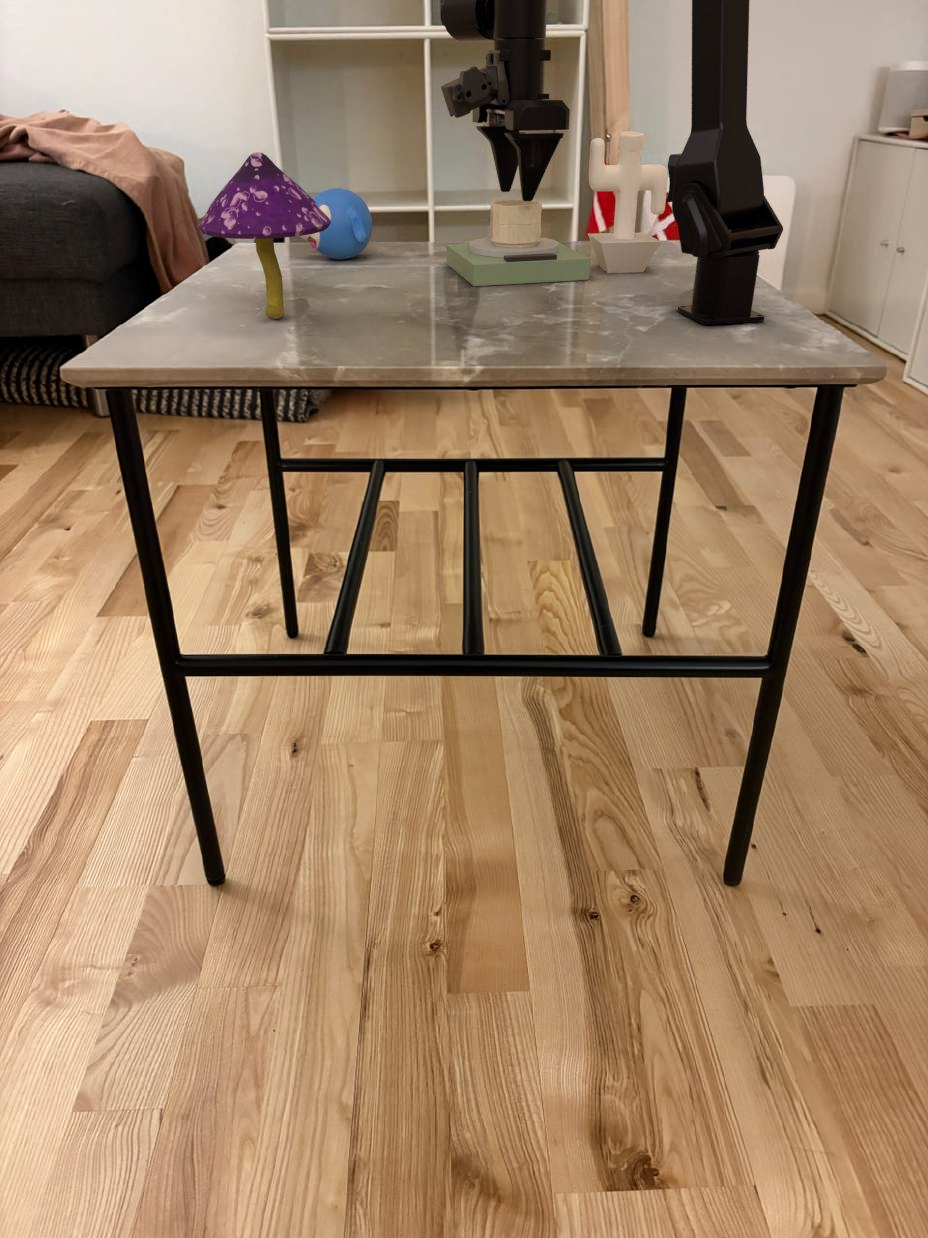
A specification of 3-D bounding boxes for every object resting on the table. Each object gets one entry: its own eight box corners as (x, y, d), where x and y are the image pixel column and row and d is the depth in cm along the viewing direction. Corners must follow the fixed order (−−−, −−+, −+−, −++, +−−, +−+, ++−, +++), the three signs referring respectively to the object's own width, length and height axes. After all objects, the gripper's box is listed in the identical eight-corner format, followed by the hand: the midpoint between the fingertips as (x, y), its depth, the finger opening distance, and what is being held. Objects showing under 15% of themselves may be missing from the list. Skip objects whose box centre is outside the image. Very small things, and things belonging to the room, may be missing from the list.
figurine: (667, 273, 111) (681, 132, 103) (590, 276, 110) (598, 134, 102) (650, 262, 117) (662, 129, 109) (577, 264, 116) (584, 130, 108)
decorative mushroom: (204, 311, 95) (180, 149, 88) (322, 300, 99) (309, 144, 91) (221, 339, 85) (195, 159, 78) (352, 327, 89) (340, 154, 81)
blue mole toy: (266, 260, 120) (258, 189, 116) (341, 249, 127) (336, 182, 123) (317, 272, 113) (311, 197, 108) (394, 260, 119) (391, 189, 115)
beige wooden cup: (546, 246, 109) (548, 204, 106) (498, 249, 108) (498, 206, 105) (531, 239, 114) (533, 198, 111) (485, 241, 113) (485, 200, 110)
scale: (589, 279, 108) (591, 250, 106) (473, 286, 105) (473, 256, 103) (551, 259, 120) (552, 232, 118) (446, 264, 117) (446, 237, 115)
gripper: (429, 41, 106) (432, 189, 114) (467, 36, 91) (468, 209, 99) (522, 40, 108) (518, 186, 116) (575, 36, 93) (566, 205, 101)
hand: (516, 196), depth 108 cm, fingers open, 9 cm apart
